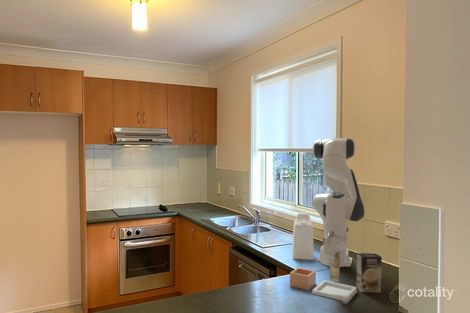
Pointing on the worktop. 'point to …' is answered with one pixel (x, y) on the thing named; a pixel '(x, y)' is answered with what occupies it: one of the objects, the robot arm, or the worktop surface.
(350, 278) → the worktop surface
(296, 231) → the milk
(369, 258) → the coffee box
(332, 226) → the robot arm
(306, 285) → the orange open box
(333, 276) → the pin
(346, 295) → the tray
